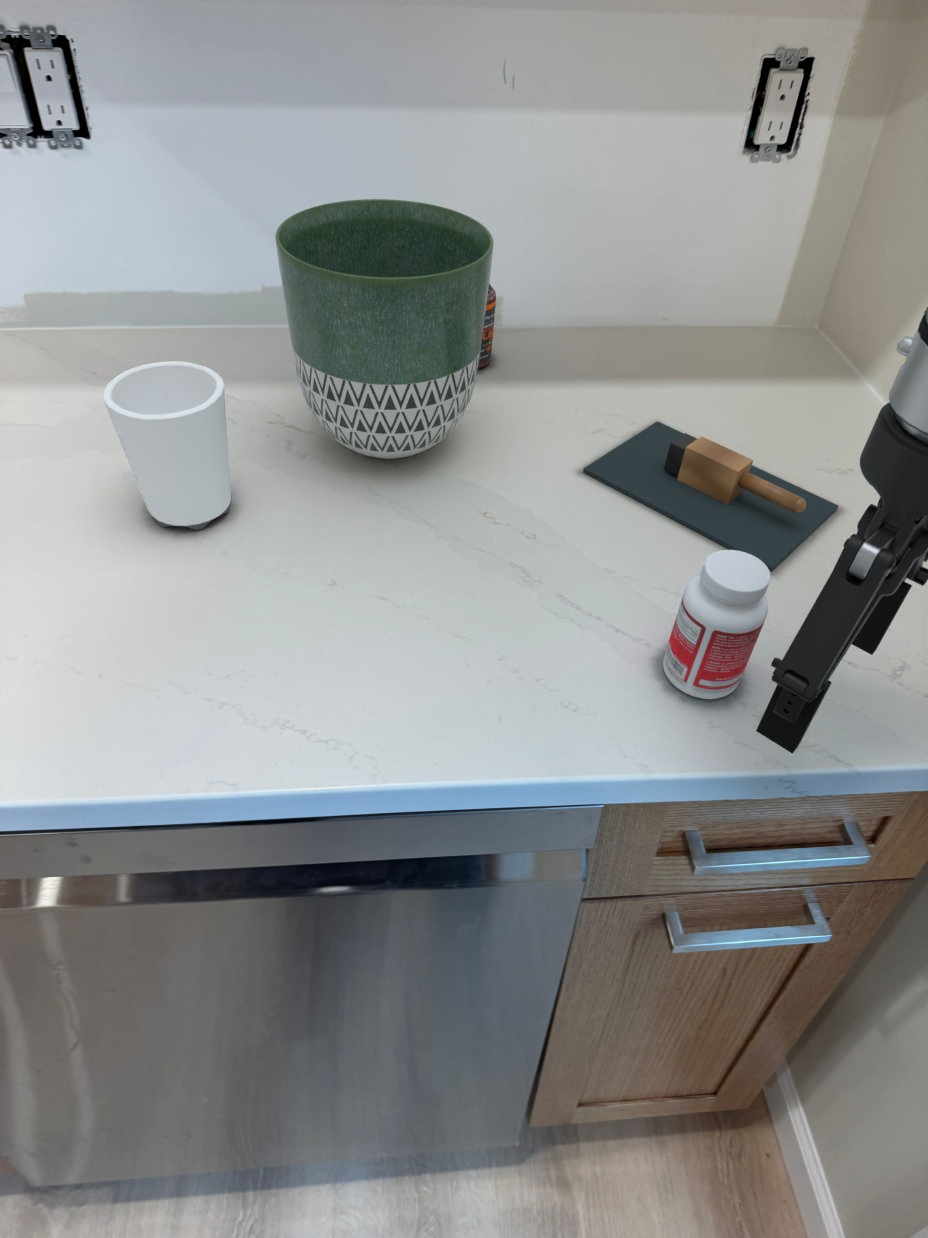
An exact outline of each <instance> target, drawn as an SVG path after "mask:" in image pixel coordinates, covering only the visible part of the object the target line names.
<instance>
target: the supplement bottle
mask: <svg viewBox="0 0 928 1238" xmlns="http://www.w3.org/2000/svg"><path fill="white" fill-rule="evenodd" d="M490 281H491V280H490ZM490 281H489V288H488V295H487V303H486V311H485V320H484V329H483V336H482V343H481V350H480V358H479V365H478V370H480V369H482V368H484V367H486V366H487V365H489V363H490V362H491V357H492V351H493V338H494V328H495V327H494V326H495V314H496V303H497V302H496V301H497V292H496V290H495V289H494V287H493V286H492V285H491V284H490Z"/></svg>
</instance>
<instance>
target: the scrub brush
mask: <svg viewBox="0 0 928 1238" xmlns="http://www.w3.org/2000/svg"><path fill="white" fill-rule="evenodd" d="M753 463H754V459H752V458H749V457H748V456H745V455H743V454H741V453H739V452H737V451H735V450H733V449H731V448H728V447H727V446H724V445H722V444H719V443H717V442H716V441H713V440H711V439H709V438H707V437H705V436H700V437H698V438H697V437H696V436H692V435H691V434H689V433H687V432H684V434H683V435H681V436H680V437H678V438H677V439H675V440H674V441H672V442H671V443H670V447H669V451H668V455H667V458H666V462H665V466H664V469H665V470H667V471H669V472H671V473H673V474H675V475H677V476H678V478H677V480H678V481H680V482H682V483H684V484H686V485H688V486H690V487H692V488H694V489H696V490H698V491H700V492H702V493H704V494H707V495H709V496H711V497H713V498H715V499H717V500H719V501H721V502H723V503H725V504H727V505H728V504H729V503H730V502H732V501H733V500H734V499H735V498H737V497H738V496H739V495H740V494H742V492H743V489H745V490H747V491H749V492H751V493H754V494H756V495H758V496H760V497H762V498H764V499H766V500H768V501H770V502H772V503H774V504H776V505H778V506H780V507H782V508H785V509H787V510H789V511H791V512H793V513H801V512H803V511H804V510H805V508H806V501H805V500H804V499H803V498H802V497H800V496H797V495H795V494H793V493H791V492H789V491H787V490H785V489H783V488H781V487H778V486H776V485H774V484H772V483H770V482H768V481H766V480H764V479H761V478H759V477H757V476H755V475H753V474H751V473H749V472H750V469H751V466H752V465H753Z"/></svg>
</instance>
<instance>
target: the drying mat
mask: <svg viewBox="0 0 928 1238" xmlns="http://www.w3.org/2000/svg"><path fill="white" fill-rule="evenodd" d="M684 433H685V432H684ZM684 433H683V432H682V431H679V430H677V429H675V428H673V427H671V426H669V425H666V424H664V423H662V422H660V421H659V420H657V421H655V422H654V423H652V424H651V425H650V426H647V427H646V428H644V429H643V430H641V431H639V432H638V433H637V434H635V435H633V436H632V437H631V438H629V439H627V440H626V441H624V442H623V443H621V444H619V445H618V446H617V447H615V448H613V449H612V450H610V451H608V452H607V453H605V454H603V455H602V456H600V457H599V458H597V459H596V460H594V461H593V462H591V463H590V464H588V465H586V466H585V467H583V470H582V472H583V473H584V474H585V475H588V476H590V477H592V478H593V479H596V480H597V481H599V482H601V483H603V484H605V485H607V486H609V487H610V488H613V489H614V490H616V491H618V492H621V493H622V494H624V495H625V496H628V497H630V498H632V499H634V500H635V501H637V502H639V503H641V504H643V505H645V506H646V507H649V508H651V509H653V510H654V511H656V512H658V513H660V514H662V515H663V516H666V517H668V518H670V519H672V520H673V521H675V522H677V523H679V524H681V525H683V526H685V527H686V528H689V529H690V530H692V531H694V532H696V533H698V534H700V535H702V536H703V537H705V538H708V539H709V540H711V541H713V542H715V543H717V544H718V545H721V546H723V547H725V548H726V549H727V550H737V551H742V552H745V553H748V554H751V555H753V556H755V557H757V558H758V559H760V560H761V561H762V562H763V563H764V564H765V565H766V566H767V567H768V569H769V571H770V572H772V571H773V570H775V569H776V568H777V567H778V566H779V565H780V564H781V563H783V561H784V560H786V559H787V557H788V556H790V554H792V553H793V552H794V551H795V550H796V549H797V548H798V547H799V546H800V545H801V544H802V543H803V542H804V541H805V540H806V539H807V538H808V537H810V536H811V535H812V534H813V533H814V532H815V531H817V529H818V528H819V527H820V526H821V525H822V524H823V523H824V522H826V520H828V518H829V517H831V516H832V515H833V514H834V513H835V512H836V511H837V510H838V508H839V505H838V504H836V503H834V502H832V501H830V500H828V499H825V498H823V497H821V496H819V495H817V494H815V493H812V492H811V491H808V490H806V489H804V488H803V487H800V486H798V485H795V484H794V483H791V482H789V481H786V480H784V479H783V478H780V477H778V476H776V475H774V474H772V473H770V472H768V471H765V470H763V469H762V468H759V467H757V466H754V465H753V464H752V466H751V469H750V472H749V473H751V474H753V475H755V476H757V477H759V478H761V479H764V480H766V481H768V482H770V483H772V484H774V485H776V486H778V487H781V488H783V489H785V490H787V491H789V492H791V493H793V494H795V495H797V496H800V497H802V498H803V499H804V500H805V501H806V508H805V510H804V511H803V512H801V513H793V512H791V511H789V510H787V509H785V508H782V507H780V506H778V505H776V504H774V503H772V502H770V501H768V500H766V499H764V498H762V497H760V496H758V495H756V494H754V493H751V492H749V491H747V490H745V489H743V492H742V494H740V495H739V496H738V497H737V498H735V499H734V500H733V501H732V502H730V503H729V504H728V505H727V504H725V503H723V502H721V501H719V500H717V499H715V498H713V497H711V496H709V495H707V494H704V493H702V492H700V491H698V490H696V489H694V488H692V487H690V486H688V485H686V484H684V483H682V482H680V481H678V480H677V478H678V476H677V475H675V474H673V473H671V472H669V471H667V470H665V469H664V466H665V462H666V458H667V455H668V451H669V447H670V443H671V442H672V441H674V440H675V439H677V438H678V437H680V436H681V435H683V434H684Z"/></svg>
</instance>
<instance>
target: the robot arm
mask: <svg viewBox="0 0 928 1238" xmlns="http://www.w3.org/2000/svg"><path fill="white" fill-rule="evenodd" d="M896 345H897V346H896V352H897V353H898V354H899V355H902V356H904V357H905V360H904V362H903V364H902V365H901V366H900V367H899V369H898V372H897V374H896V376H895V379H894V380H893V383H892V384H891V388H890V390H889V391H888V401H889V402H888V403H885V404H884V405H883V406H882V407H881V408H880V411H879V412H878V414H877V416H876V419H875V421H874V424H873V425H872V428H871V430H870V433H869V435H868V437H867V439H866V442H865V444H864V447H863V449H862V451H861V453H860V457H859V468H860V471H861V474H862V476H863V477H864V479H865V481H866V482H867V483H868V484H869V485H870V486H871V487H872V488H873V489H874V490H875V491H876V493H877V494H878V496H879V498H878V501H877V505H875V504H873V503H870V504H869V505H868V506H867V508H866V509H865V510H864V512H863V514H862V515H861V517H860V519H859V520H858V522H857V525H856V526H857V532H856V533H853V534H851V535H850V537H848V538H846V539H845V541H844V543H843V546H842V547H843V549H842V551H841V552H840V555H839V556H838V559H837V561H836V562H835V565H834V567H833V569H832V571H831V572H830V575H829V576H828V578H827V580H826V582H825V584H824V585H823V587H822V589H821V590H820V593H819V594H818V595H817V598H816V600H815V601H814V603H813V605H812V607H811V608H810V610H809V612H808V614H807V615H806V617H805V619H804V620H803V622H802V624H801V626H800V628H799V629H798V631H797V633H796V635H795V636H794V638H793V640H792V642H791V644H790V645H789V647H788V649H787V651H786V652H785V654H784V655H783V658H782V659H781V658H779V657H774V658H773V659H772V661H771V665H770V666H771V667H772V668H774V670H773V672H772V676H771V681H772V682H773V683H775V684H776V686H775V689H774V690H773V691H774V692H772V695H771V697H770V699H769V701H768V703H767V706H766V708H765V710H764V713H762V714H763V715H762V717H761V718H760V721H759V722H758V725H757V728H756V730H755V732H757V733H758V734H759V735H762V736H763V737H765V739H768V740H769V741H771V742H772V743H774V744H776V745H777V746H779V747H781V748H783V749H784V750H785V751H787V752H789V753H791V754H794V753H795V751H796V750H797V749H798V747H800V746H799V745H800V744H801V742H802V741H803V738H804V736H805V734H806V733H807V730H808V729H809V727H810V725H811V723H812V721H813V719H814V717H815V715H816V714H817V712H818V709H819V708H820V706H821V704H822V702H823V700H824V699H825V696H826V694H827V692H828V691H829V689H830V687H831V686H832V681H831V680H830V679H831V677H832V675H833V674H834V672H835V671H836V669H837V668H838V667H839V665H840V663H841V662H842V660H843V658H844V657H845V655H846V653H847V652H848V651H849V649H850V647H851V646H854V647H856V648H857V649H860V650H861V651H864V652H865V653H867V654H869V655H870V656H873V654H875V652H876V651H877V649H878V647H879V646H880V644H881V642H882V641H883V638H884V637H885V635H886V633H887V631H888V630H889V628H890V626H891V624H892V623H893V621H894V619H895V617H896V615H897V614H898V612H899V610H900V608H901V606H902V605H903V603H904V601H905V599H906V597H907V595H908V594H909V592H910V590H911V589H912V588H913V584H911V583H909V582H907V581H906V580H910V581H911V582H914V583H916V584H918V585H920V586H922V587H923V586H925V585H926V583H927V582H928V568H926V567H924V566H923V565H924V563H927V562H928V306H927V307H926V309H925V310H924V312H923V315H922V317H921V320H920V322H919V324H918V328H917V330H916V332H915V333H914V335H913V336H903V338H902V339H901V340H900V341H899V342H898V343H897V344H896Z"/></svg>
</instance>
